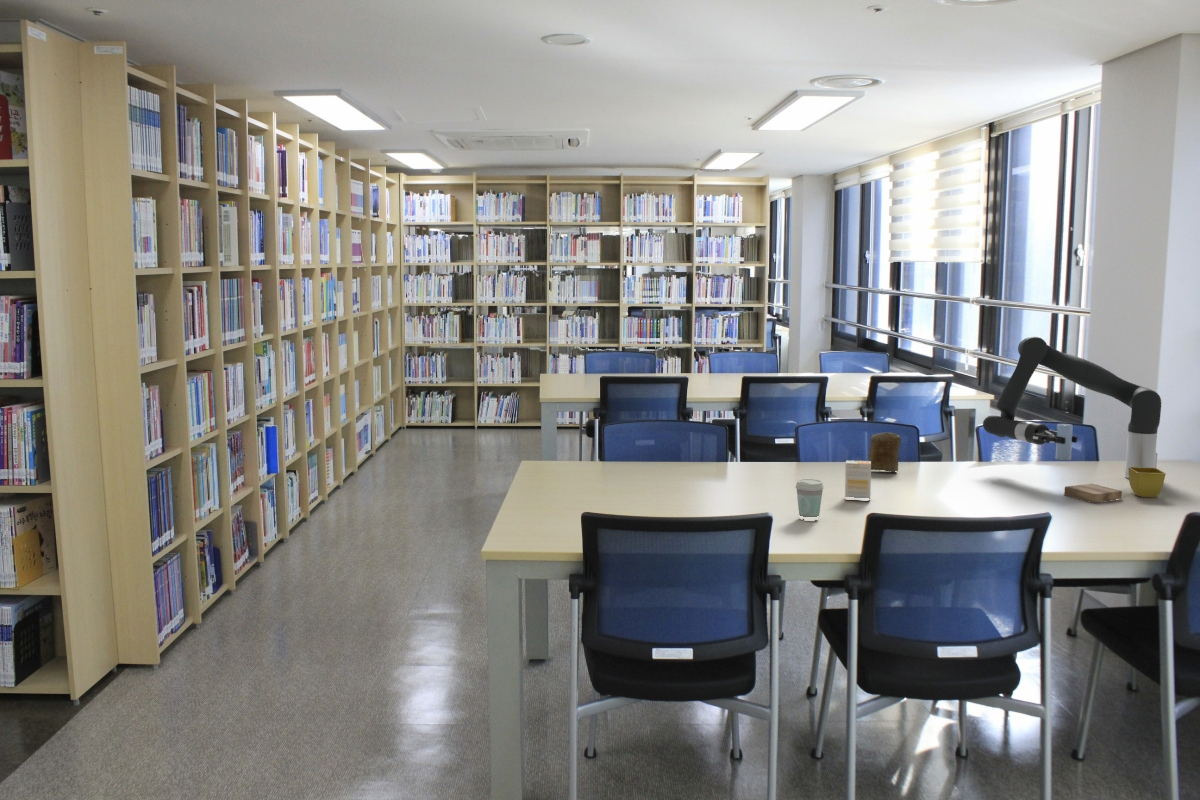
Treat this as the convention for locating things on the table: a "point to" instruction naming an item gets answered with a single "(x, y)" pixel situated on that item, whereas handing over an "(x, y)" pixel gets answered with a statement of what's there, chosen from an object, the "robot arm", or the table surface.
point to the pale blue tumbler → (1065, 449)
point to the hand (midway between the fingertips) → (1070, 440)
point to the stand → (1092, 493)
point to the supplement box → (858, 479)
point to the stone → (884, 451)
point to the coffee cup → (809, 497)
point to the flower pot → (1146, 481)
